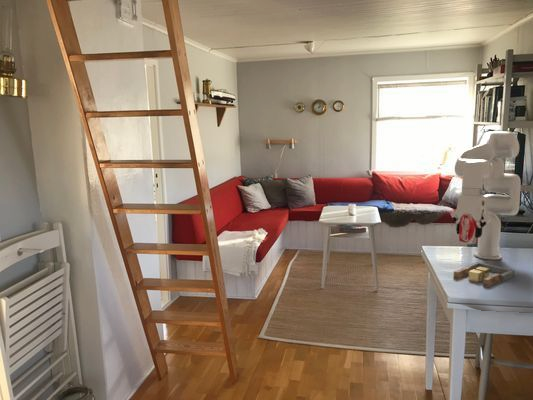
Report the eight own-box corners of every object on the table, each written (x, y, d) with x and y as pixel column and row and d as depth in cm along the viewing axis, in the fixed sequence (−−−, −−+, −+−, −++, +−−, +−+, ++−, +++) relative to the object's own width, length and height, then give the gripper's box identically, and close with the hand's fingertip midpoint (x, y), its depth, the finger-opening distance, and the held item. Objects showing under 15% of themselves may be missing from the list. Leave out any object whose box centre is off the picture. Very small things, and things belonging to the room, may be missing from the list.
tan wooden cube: (472, 278, 191) (473, 269, 191) (482, 280, 188) (482, 271, 188) (468, 280, 189) (469, 271, 188) (477, 282, 186) (478, 273, 185)
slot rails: (467, 272, 198) (467, 266, 198) (499, 280, 187) (500, 274, 187) (453, 278, 191) (453, 271, 190) (486, 287, 180) (487, 280, 179)
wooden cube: (479, 275, 195) (480, 266, 194) (488, 277, 192) (489, 268, 191) (475, 277, 193) (475, 268, 192) (484, 279, 189) (485, 270, 189)
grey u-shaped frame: (476, 266, 206) (477, 261, 206) (514, 275, 194) (514, 270, 193) (464, 272, 199) (464, 266, 199) (502, 281, 187) (503, 275, 186)
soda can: (479, 245, 176) (481, 215, 174) (460, 244, 177) (462, 215, 175) (475, 241, 183) (477, 212, 181) (456, 240, 184) (458, 211, 182)
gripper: (498, 193, 172) (494, 238, 175) (455, 189, 186) (452, 230, 189) (489, 195, 168) (486, 241, 171) (446, 190, 181) (443, 232, 184)
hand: (468, 235), depth 180 cm, fingers closed on soda can, 7 cm apart
